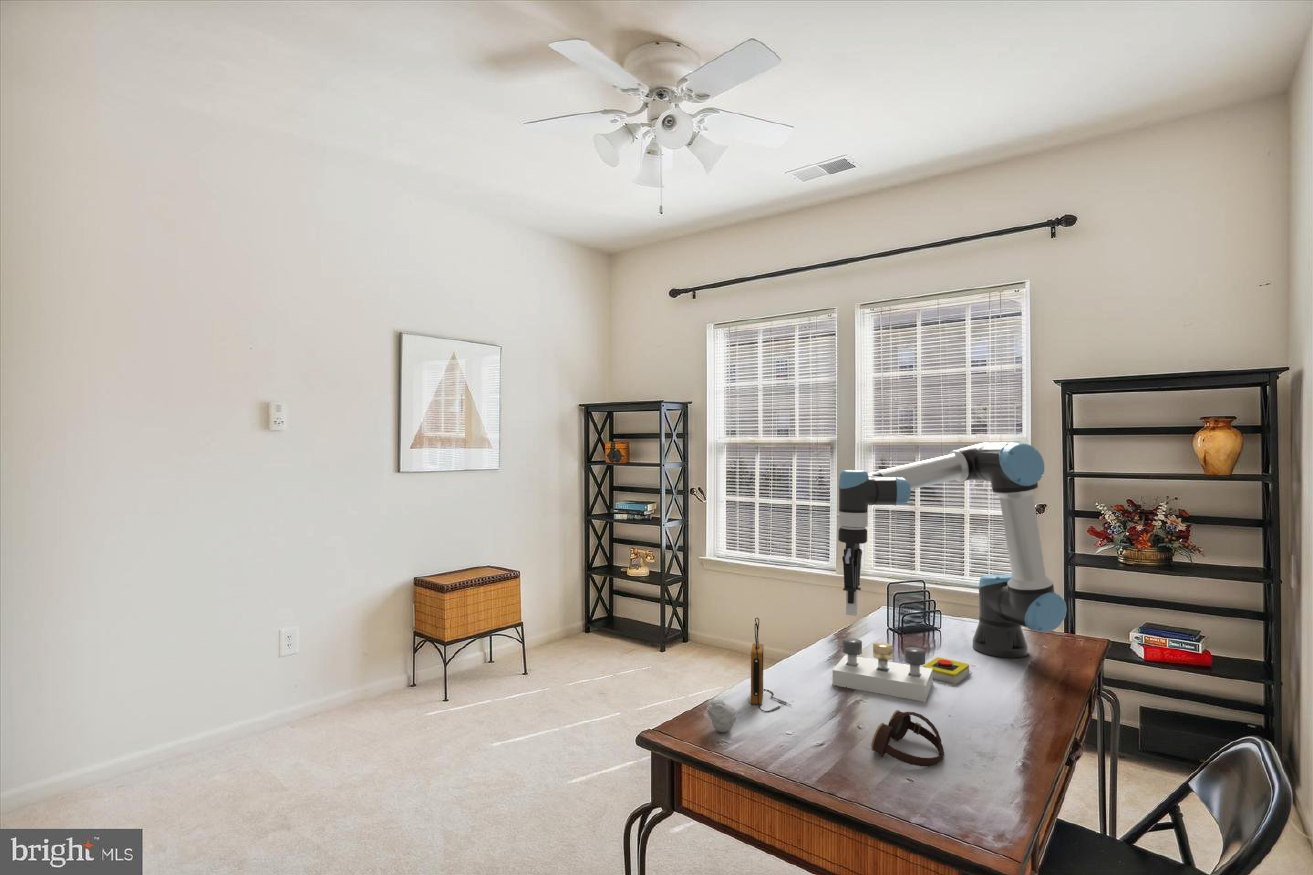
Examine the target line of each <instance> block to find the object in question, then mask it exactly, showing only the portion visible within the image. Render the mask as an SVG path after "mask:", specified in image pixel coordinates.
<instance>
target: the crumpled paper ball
mask: <svg viewBox="0 0 1313 875" xmlns="http://www.w3.org/2000/svg"><path fill="white" fill-rule="evenodd" d="M706 710H707V711H706V714H707V715H708V717H709V719H710V720H711V724H712V727H713V728H714V729H715V730H716V731H717V732H720V733H727V732H729V731H730V730H732V729H733V726H734V724H735V723H736V720H737V714H736V712H737V709H735V707H734V706H732V705H730V704H728V703H727V702H724V701H723V700H722V699H711V702H710V704H709V705H708V706H707V707H706Z"/></svg>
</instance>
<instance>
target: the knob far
mask: <svg viewBox="0 0 1313 875" xmlns="http://www.w3.org/2000/svg"><path fill="white" fill-rule="evenodd" d="M842 653H843V654H844V655H848V665H849V666H855V667H857V657H858V656H860V655H861V654H862V653H863V642H862V640H861V639H858V638H854V637H853V638H851V637H846V638H843V639H842Z"/></svg>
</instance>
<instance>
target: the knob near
mask: <svg viewBox="0 0 1313 875" xmlns="http://www.w3.org/2000/svg"><path fill="white" fill-rule="evenodd" d="M904 662H905V663H907V665H910V676H915V677H920V667H921V666H924V665H925V664H926V650H924V649H923V648H921V647H920V648H919V647H916V646H915V647H911V646H910V647H905V648H904Z"/></svg>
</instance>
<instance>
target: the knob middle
mask: <svg viewBox="0 0 1313 875" xmlns="http://www.w3.org/2000/svg"><path fill="white" fill-rule="evenodd" d="M893 656H894V646H893V644H890V643H887V642H874V643H873V644H872V657H873V659H874V658H875V660H878V670H879V671H885V672H888V662H889V661H890V660H893V659H894V657H893Z"/></svg>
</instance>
